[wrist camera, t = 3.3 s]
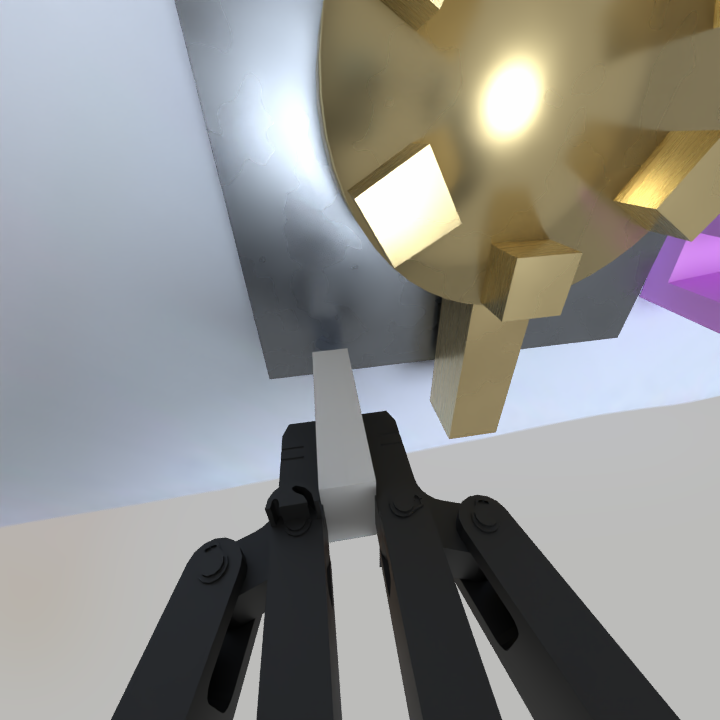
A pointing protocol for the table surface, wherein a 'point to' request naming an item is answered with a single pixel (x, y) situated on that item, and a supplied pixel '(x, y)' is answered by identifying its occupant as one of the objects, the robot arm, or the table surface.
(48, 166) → the table surface
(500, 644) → the robot arm
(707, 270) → the bracket
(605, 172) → the brass notched disc handle
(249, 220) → the base plate
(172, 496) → the table surface
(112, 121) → the table surface
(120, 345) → the table surface
